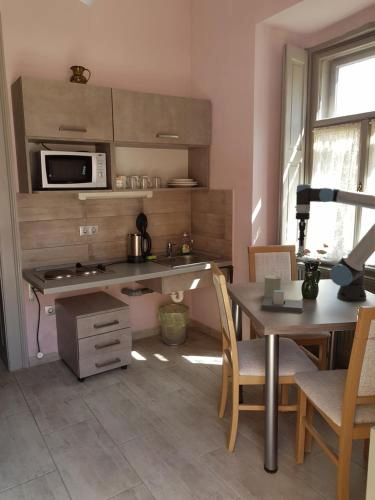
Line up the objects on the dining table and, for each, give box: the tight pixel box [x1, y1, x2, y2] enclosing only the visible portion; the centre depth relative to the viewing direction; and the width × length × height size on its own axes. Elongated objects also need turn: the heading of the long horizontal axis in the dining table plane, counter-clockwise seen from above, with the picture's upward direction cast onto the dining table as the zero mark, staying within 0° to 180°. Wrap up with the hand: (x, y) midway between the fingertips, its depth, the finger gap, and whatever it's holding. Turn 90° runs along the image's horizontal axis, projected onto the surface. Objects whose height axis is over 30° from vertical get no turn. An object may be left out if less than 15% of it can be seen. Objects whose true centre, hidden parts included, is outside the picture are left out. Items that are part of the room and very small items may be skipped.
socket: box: [260, 297, 304, 314], centre depth 207 cm, size 20×14×2 cm
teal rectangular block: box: [273, 289, 285, 305], centre depth 207 cm, size 5×4×8 cm
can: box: [263, 274, 282, 298], centre depth 227 cm, size 9×9×12 cm
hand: (301, 249), depth 225 cm, fingers open, 13 cm apart
